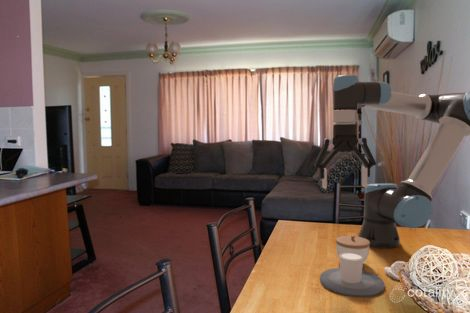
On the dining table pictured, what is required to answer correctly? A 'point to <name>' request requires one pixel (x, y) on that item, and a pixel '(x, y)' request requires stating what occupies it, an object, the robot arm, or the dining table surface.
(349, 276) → the white cup
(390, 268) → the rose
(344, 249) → the lidded jar
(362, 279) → the dish
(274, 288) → the dining table surface
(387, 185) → the robot arm
